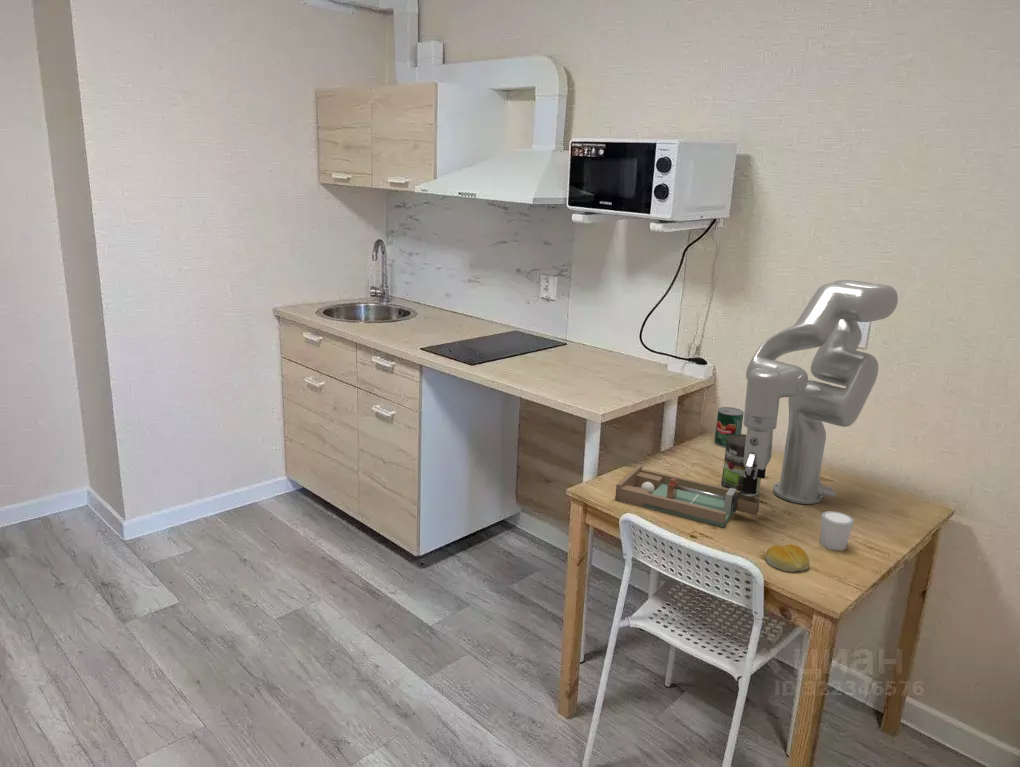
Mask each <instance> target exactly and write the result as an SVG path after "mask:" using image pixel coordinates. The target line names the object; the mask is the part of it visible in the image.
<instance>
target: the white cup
mask: <svg viewBox="0 0 1020 767" xmlns="http://www.w3.org/2000/svg"><path fill="white" fill-rule="evenodd" d="M820 520H821V523H820V539H819V541H820V542H819V543H820V544H821V545H822V547H824V548H826V549H829V550H831V551H844V550H846V549H847V545H848V543H849V542H848V541H849V538H850V535H851V531H852V528H853V525H854V522H855V521H854V518H853V517H852V516H850V515H848V514H845V513H843V512H840V511H835V510H830V511H829V510H828V511H825V512H822V514H821V519H820Z"/></svg>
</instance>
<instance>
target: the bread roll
mask: <svg viewBox="0 0 1020 767" xmlns="http://www.w3.org/2000/svg"><path fill="white" fill-rule="evenodd" d="M765 560H766V562H767V563H768V564H769V565H770V566H771V567H772V568H775V569H778V570H781V571H783V572H788V573H789V572H790V573H794V572H803V571H806V570H808V569H809V568H810V559H809V556H808V553H806V551H805V550H804V549H803V548H802V547H801V546H798V545H796V544H786V545H784V546H781V545H773V546H771V547H768V548H767V550H766V553H765Z"/></svg>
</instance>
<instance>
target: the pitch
mask: <svg viewBox="0 0 1020 767" xmlns="http://www.w3.org/2000/svg"><path fill="white" fill-rule="evenodd" d="M671 478H675V479H677V480H676V481H678V485H680V486H684V487H688V488H692V489H696V490H701V491H705V492H709V493H713V494H718V495H722V496H725V501H724V500H720V499H715V498H711V497H707V496H703V495H699V494H695V493H690V492H686V491H682V490H678V489H677V494H676V495H675V496H674V497H673V498H669V497H667V488H668V484H669V483H670V479H671ZM645 482H650V483H652V484H653V485H654V492H653V493H652V494H650V493H649V492H650V491H649V490H645V489H641V486H642V484H643V483H645ZM739 492H741V491H737V489H734V488H730V489H729V488H724V487H721V485H715V484H710V483H707V482H704V481H703V482H702V481H698V480H694V479H690V478H685V477H680V476H677V475H672V474H667V473H663V472H659V471H654V470H650V469H645V468H643V465H641V464H637V465H636V466H635V467H634V468H633V469H632V470H631V471H629V472H628V473H627V474H626V475H625V476H624V477H623V478H622V479H621V480H620V481H618V482H617V483H616V485H615V496H614V497H615V499H614V501H617V502H621V503H625V504H628V505H632V506H633V505H634V506H636V507H641V508H644V509H648V510H652V511H657V512H660V513H663V514H664V513H665V514H668V515H670V516H671V515H673V516H676V517H680V518H684V519H687V520H691V521H695V522H699V523H703V524H707V525H711V526H715V527H719V528H721V529H722V528H723V529H724V528H725V526H726V525H727V523H728V521H729V520H730V519H731V517H732V515H733V514H734V512H733V506H734V503H732V502H733V498H734V499H735V497H736V496H737V494H738V493H739Z"/></svg>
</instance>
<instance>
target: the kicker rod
mask: <svg viewBox="0 0 1020 767" xmlns="http://www.w3.org/2000/svg"><path fill="white" fill-rule="evenodd" d="M676 480H677V479H675V478H671V479H670V483H669V484H668V488H667V497H669V498H673V497H674V496H675V495H676V494H677V489H678V490H682V491H686V492H690V493H695V494H699V495H703V496H707V497H711V498H715V499H720V500H724V501H725V496H722V495H718V494H713V493H709V492H705V491H701V490H696V489H692V488H688V487H684V486H680V485H678V481H676ZM732 503H734V506H733V513H736V512H740V513H743V514H748V515H753V516H757V514H758V512H760V504H761V498H758V497H755V496H752V497H749V496H745V495H741V492H739V493H738V494H737V496H736V497H735V499H734V498H733V502H732Z"/></svg>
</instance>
